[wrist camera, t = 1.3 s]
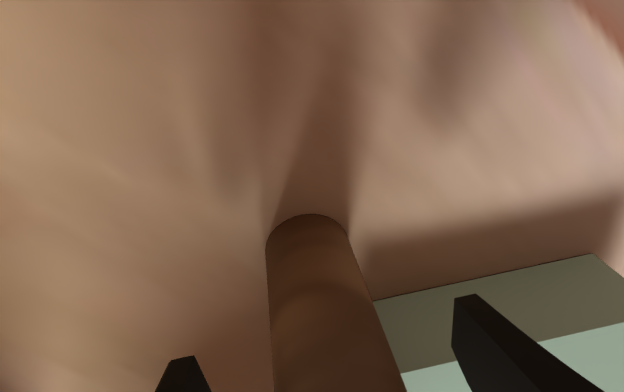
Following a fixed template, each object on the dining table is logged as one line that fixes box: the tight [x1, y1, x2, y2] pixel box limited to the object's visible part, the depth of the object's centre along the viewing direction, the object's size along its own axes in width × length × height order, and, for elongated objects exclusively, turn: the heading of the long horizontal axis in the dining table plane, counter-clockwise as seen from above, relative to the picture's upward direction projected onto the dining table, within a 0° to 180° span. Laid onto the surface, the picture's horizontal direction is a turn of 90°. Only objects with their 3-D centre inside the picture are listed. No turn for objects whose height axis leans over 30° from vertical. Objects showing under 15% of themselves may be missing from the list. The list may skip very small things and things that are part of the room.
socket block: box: [373, 253, 624, 392], centre depth 18 cm, size 11×11×4 cm
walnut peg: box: [265, 214, 407, 392], centre depth 11 cm, size 3×3×8 cm
